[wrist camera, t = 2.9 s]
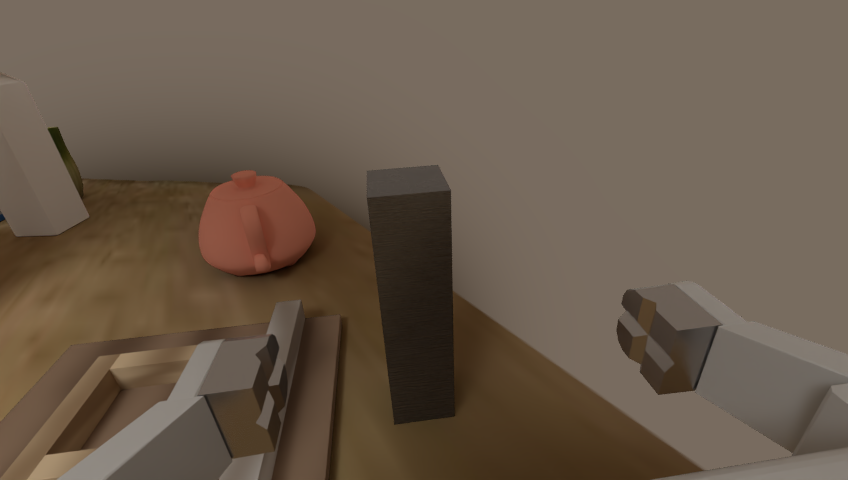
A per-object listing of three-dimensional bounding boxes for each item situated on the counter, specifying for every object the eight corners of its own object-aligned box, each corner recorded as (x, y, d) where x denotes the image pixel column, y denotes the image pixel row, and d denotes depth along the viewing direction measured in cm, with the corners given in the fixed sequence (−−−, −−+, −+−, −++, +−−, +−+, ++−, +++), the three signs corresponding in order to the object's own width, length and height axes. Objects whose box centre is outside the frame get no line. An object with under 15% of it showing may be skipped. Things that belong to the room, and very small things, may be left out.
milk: (52, 218, 60) (-33, 56, 50) (91, 217, 60) (13, 54, 50) (14, 237, 55) (-90, 60, 45) (57, 236, 55) (-38, 57, 45)
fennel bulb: (95, 195, 69) (61, 122, 63) (69, 206, 64) (31, 130, 59) (65, 194, 69) (29, 123, 64) (37, 206, 65) (-4, 131, 59)
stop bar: (394, 424, 27) (366, 197, 19) (391, 378, 30) (366, 170, 23) (454, 416, 27) (450, 190, 19) (444, 371, 30) (437, 164, 23)
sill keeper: (-175, 639, 18) (-229, 609, 17) (76, 354, 34) (59, 326, 33) (322, 557, 20) (311, 524, 19) (341, 323, 36) (336, 295, 34)
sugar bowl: (312, 225, 54) (297, 150, 49) (329, 278, 43) (312, 186, 38) (212, 245, 51) (185, 165, 46) (201, 309, 39) (164, 211, 34)
